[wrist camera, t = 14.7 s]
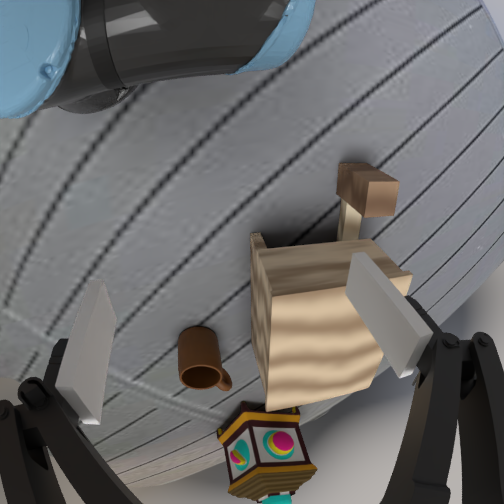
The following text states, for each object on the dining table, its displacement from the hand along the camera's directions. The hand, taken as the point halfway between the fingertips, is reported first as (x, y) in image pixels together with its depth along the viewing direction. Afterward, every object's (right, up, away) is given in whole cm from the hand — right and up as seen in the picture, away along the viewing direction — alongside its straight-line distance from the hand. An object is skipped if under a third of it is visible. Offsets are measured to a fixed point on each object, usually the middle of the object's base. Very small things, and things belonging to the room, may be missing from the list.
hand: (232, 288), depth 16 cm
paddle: (+17, +4, +35) cm, 39 cm away
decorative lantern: (+2, -44, +61) cm, 75 cm away
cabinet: (+10, -5, +39) cm, 40 cm away
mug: (-8, -16, +42) cm, 45 cm away
